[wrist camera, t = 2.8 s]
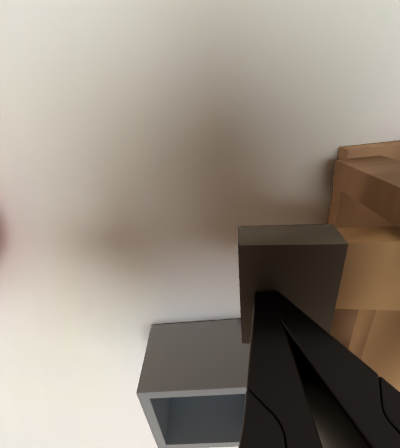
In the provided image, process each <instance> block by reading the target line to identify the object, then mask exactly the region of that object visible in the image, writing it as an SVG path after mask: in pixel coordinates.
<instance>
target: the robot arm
mask: <svg viewBox="0 0 400 448" xmlns="http://www.w3.org/2000/svg"><path fill="white" fill-rule="evenodd" d="M239 448H400V392H399V391H398V390H397V389H396V388H394V387H393V386H392V385H391V384H390V383H388V382H387V381H386V380H385V379H384V378H382V377H379V375H378V374H377V373H376V372H375V371H374V370H373V369H371V368H370V367H369V366H368V365H367V364H365V363H364V362H363V361H362V360H361V359H359V358H358V357H357V356H356V355H355V354H353V353H352V352H351V351H350V350H349V349H347V348H346V347H345V346H344V345H342V344H341V343H340V342H339V341H338V340H336V339H335V338H334V337H333V336H332V335H330V334H329V333H328V332H327V331H326V330H324V329H323V328H322V327H321V326H320V325H318V324H317V323H316V322H315V321H314V320H312V319H311V318H310V317H309V316H308V315H306V314H305V313H304V312H303V311H302V310H300V309H299V308H298V307H297V306H296V305H294V304H293V303H292V302H291V301H290V300H288V299H287V298H286V297H285V296H283V295H282V294H281V293H280V292H279V291H277V290H269V291H259V292H255V294H254V304H253V316H252V328H251V339H250V351H249V362H248V374H247V385H246V395H245V406H244V415H243V423H242V431H241V437H240V442H239Z"/></svg>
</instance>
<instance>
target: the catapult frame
mask: <svg viewBox="0 0 400 448" xmlns="http://www.w3.org/2000/svg"><path fill="white" fill-rule="evenodd" d="M332 185H333V192H332V198H331V205H330V211H329V218H328V224H334V226H335V227H336V228H353V227H396V226H397V227H399V228H400V141H392V142H382V143H372V144H363V145H353V146H344V147H339V153H338V159H337V160H336V162H335V169H334V175H333V182H332ZM358 312H359V309H335V311H334V316H333V321H332V326H331V331H330V335H332V336H333V337H334V338H335V339H336V340H338V341H339V342H340V343H341V344H342V345H344V346H345V347H346V348H347V349H348V348H349V345H350V341H351V337H352V334H353V330H354V326H355V323H356V319H357V315H358Z"/></svg>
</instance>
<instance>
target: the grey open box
mask: <svg viewBox="0 0 400 448" xmlns="http://www.w3.org/2000/svg"><path fill="white" fill-rule="evenodd" d="M249 351H250V344H244V343H242V333H241V319H230V320H215V321H200V322H186V323H171V324H156V325H152V326H151V331H150V335H149V339H148V344H147V348H146V353H145V357H144V362H143V366H142V371H141V375H140V379H139V384H138V388H137V396H138V398H139V401H140V403H141V406H142V408H143V411H144V414H145V416H146V419H147V421H148V424H149V426H150V429H151V431H152V434H153V436H154V439H155V441H156V444H157V446H158V448H209V447H234V446H239V442H240V437H241V431H242V423H243V415H244V406H245V395H246V385H247V374H248V362H249Z"/></svg>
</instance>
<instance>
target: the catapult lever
mask: <svg viewBox="0 0 400 448" xmlns="http://www.w3.org/2000/svg"><path fill="white" fill-rule="evenodd" d="M238 254H239V280H240V307H241V333H242V343H244V344H250V339H251V328H252V316H253V304H254V294H255V292H259V291H269V290H277V291H279V292H280V293H281V294H282V295H283V296H285V297H286V298H287V299H288V300H290V301H291V302H292V303H293V304H294V305H296V306H297V307H298V308H299V309H300V310H302V311H303V312H304V313H305V314H306V315H308V316H309V317H310V318H311V319H312V320H314V321H315V322H316V323H317V324H318V325H320V326H321V327H322V328H323V329H324V330H326V331H327V332H328V333H329V334H330V331H331V326H332V321H333V316H334V311H335V309H359V312H358V315H357V319H356V323H355V326H354V330H353V334H352V337H351V341H350V345H349V348H348V349H349V350H350V351H351V352H352V353H353V354H355V355H356V356H357V357H358V358H359V359H361V360H362V361H363V362H364V363H365V364H367V365H368V366H369V367H370V368H371V369H373V370H374V371H375V372H376V373H377V374H378V375H379V377H382V378H384V379H385V380H386V381H387V382H388V383H390V384H391V385H392V386H393V387H394V388H396V389H397V390H398V391H399V392H400V228H399V227H397V226H396V227H353V228H336V227H335V226H334V224H311V225H273V226H238Z"/></svg>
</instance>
